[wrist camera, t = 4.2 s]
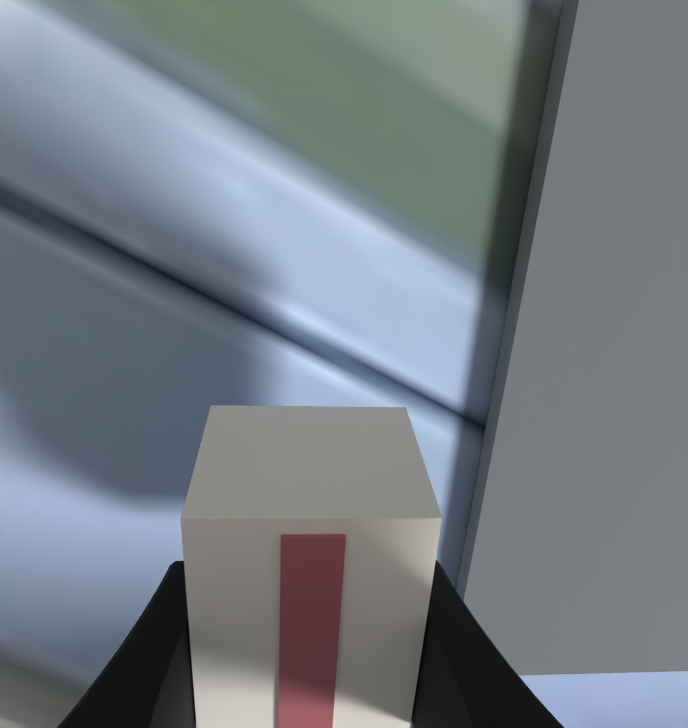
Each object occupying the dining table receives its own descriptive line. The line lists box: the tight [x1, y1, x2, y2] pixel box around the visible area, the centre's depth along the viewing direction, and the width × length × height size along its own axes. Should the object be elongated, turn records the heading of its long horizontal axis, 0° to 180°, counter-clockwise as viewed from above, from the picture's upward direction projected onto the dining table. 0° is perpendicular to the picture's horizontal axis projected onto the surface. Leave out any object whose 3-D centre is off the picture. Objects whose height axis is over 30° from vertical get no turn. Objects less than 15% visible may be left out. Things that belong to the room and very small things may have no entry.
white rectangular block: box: [181, 405, 442, 728], centre depth 12 cm, size 7×4×4 cm, turn 177°
